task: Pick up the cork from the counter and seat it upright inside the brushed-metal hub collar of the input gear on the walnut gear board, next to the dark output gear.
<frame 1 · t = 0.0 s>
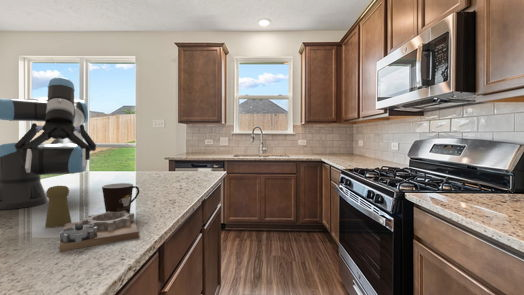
hand: (57, 169, 81), 15 cm above the countertop, tool tilted 35°, fingers open, 13 cm apart
cork: (58, 224, 77), on the countertop
gear board: (100, 232, 70), on the countertop
output gear: (79, 243, 63), resting on gear board
coffee mug: (123, 216, 85), on the countertop
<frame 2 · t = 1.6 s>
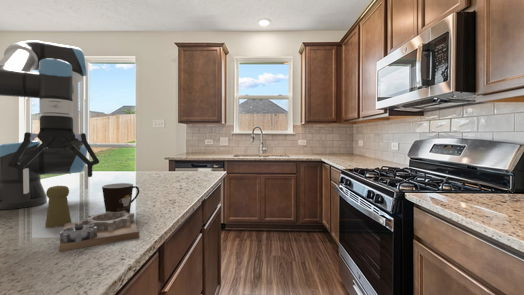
hand: (57, 190, 76), 10 cm above the countertop, tool pointing down, fingers open, 13 cm apart
nothing on the countertop moved.
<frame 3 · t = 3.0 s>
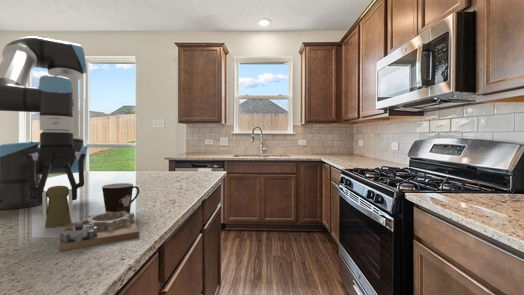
hand: (58, 212, 76), 3 cm above the countertop, tool pointing down, fingers closed on cork, 5 cm apart
cork: (58, 224, 77), on the countertop, touching gripper
everything else where it was.
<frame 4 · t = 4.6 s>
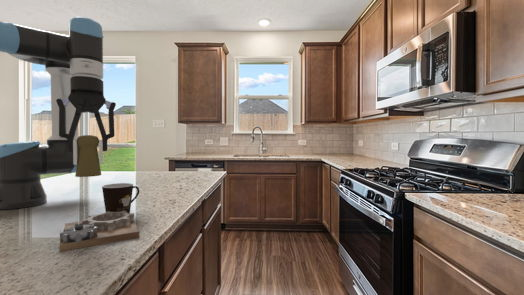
hand: (88, 163, 73), 18 cm above the countertop, tool pointing down, fingers closed on cork, 5 cm apart
cork: (88, 176, 73), point 14 cm above the countertop, touching gripper
everything else where it was.
when the fingers open (6 cm above the countertop, at t = 6.5 s): cork drops 1 cm, resting on gear board.
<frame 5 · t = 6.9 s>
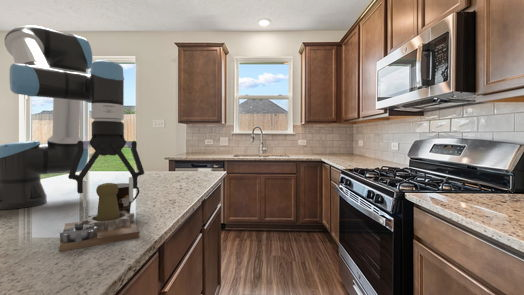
hand: (108, 202, 72), 7 cm above the countertop, tool pointing down, fingers open, 10 cm apart
cork: (108, 224, 72), point 1 cm above the countertop, touching gear board
everything else where it was.
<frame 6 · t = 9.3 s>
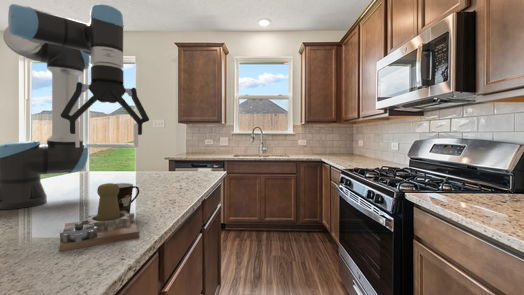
hand: (108, 147, 72), 22 cm above the countertop, tool pointing down, fingers open, 13 cm apart
nothing on the countertop moved.
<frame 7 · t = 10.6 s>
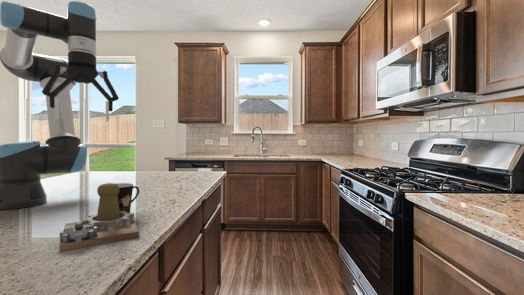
hand: (83, 120, 86), 31 cm above the countertop, tool pointing down, fingers open, 13 cm apart
nothing on the countertop moved.
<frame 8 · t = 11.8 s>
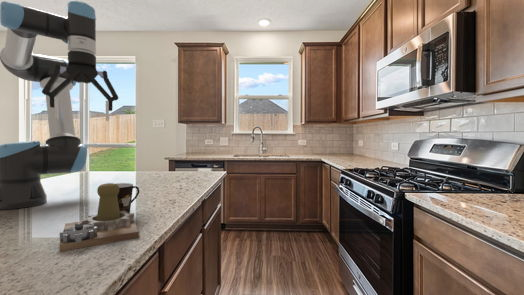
hand: (83, 119, 86), 31 cm above the countertop, tool pointing down, fingers open, 13 cm apart
nothing on the countertop moved.
at the end: cork 0.1 cm from the target spot on the gear board, point 1.3 cm above the gear board's base; cork tilted 0°; the gripper is holding nothing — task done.
